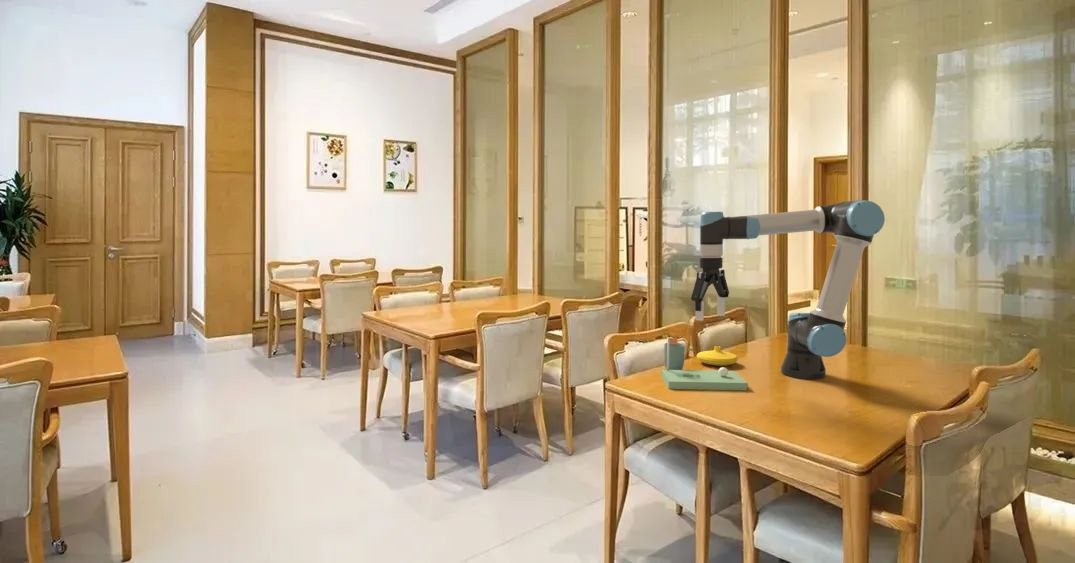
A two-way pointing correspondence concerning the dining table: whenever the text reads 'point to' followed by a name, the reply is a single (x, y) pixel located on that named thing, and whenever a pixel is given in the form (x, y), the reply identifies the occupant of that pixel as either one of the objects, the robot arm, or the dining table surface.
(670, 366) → the cup
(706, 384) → the green stand
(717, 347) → the yellow round domed piece
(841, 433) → the dining table surface
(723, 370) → the ball
